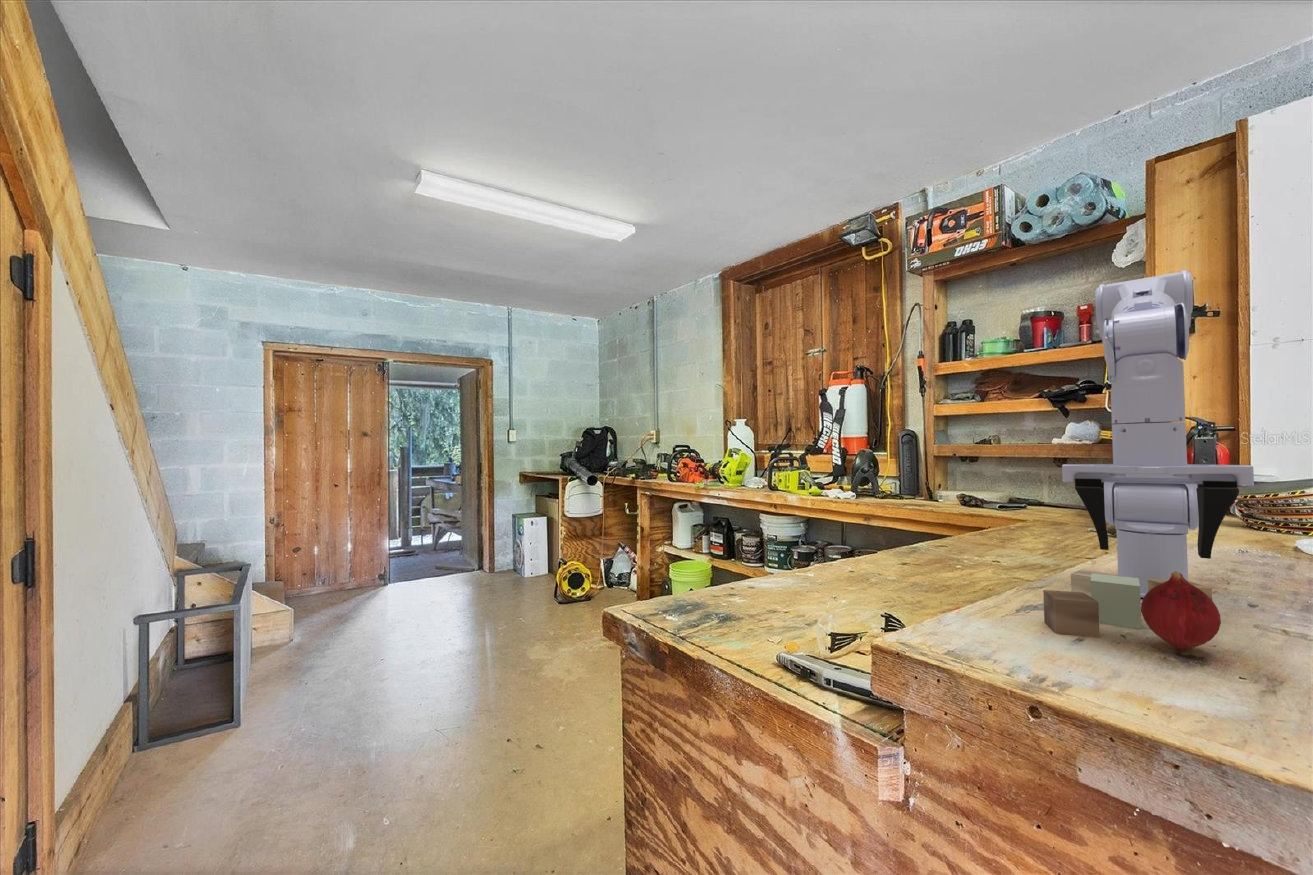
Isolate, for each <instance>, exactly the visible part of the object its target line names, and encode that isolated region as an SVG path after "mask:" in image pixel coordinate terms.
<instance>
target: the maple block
mask: <svg viewBox="0 0 1313 875" xmlns="http://www.w3.org/2000/svg"><path fill="white" fill-rule="evenodd" d="M1092 573H1093V574H1103V575H1112V576H1119V575H1118V573H1111V572H1105V571H1103V572H1102V571H1096V570H1089V569H1085V568H1084V569H1083V568H1081V569H1079V570H1077V571H1073V572H1072V573H1070V588H1071V590H1070V592H1084V593H1085V594H1087V595H1088V596H1090V597H1091V574H1092Z"/></svg>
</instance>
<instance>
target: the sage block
mask: <svg viewBox="0 0 1313 875" xmlns="http://www.w3.org/2000/svg"><path fill="white" fill-rule="evenodd" d="M1091 597H1092V598H1093V599H1095V600H1096V601H1098V604H1099V624H1102V625H1103V624H1104V625H1110V626H1116V627H1123V628H1129V629H1130V628H1131V629H1137V630H1142V612H1141V603H1142V600H1141V598H1142V597H1140V583H1139V578H1130V577H1121V576H1112V575H1103V574H1093V573H1092V574H1091Z"/></svg>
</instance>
